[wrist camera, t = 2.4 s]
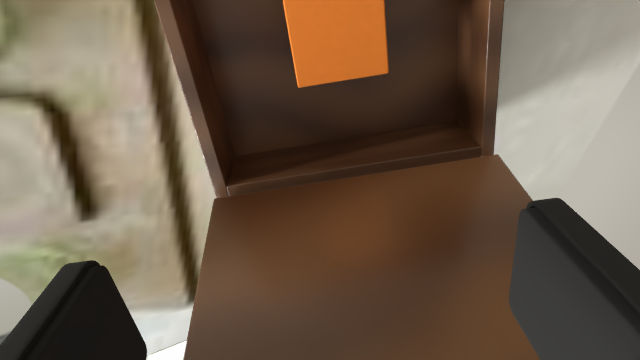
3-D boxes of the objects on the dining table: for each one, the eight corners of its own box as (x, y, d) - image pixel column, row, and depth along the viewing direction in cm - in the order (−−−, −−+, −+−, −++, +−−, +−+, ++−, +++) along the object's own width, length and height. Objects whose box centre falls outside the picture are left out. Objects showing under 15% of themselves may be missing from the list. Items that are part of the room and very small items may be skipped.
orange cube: (282, -17, 24) (280, -13, 19) (366, -31, 24) (382, -30, 19) (297, 67, 26) (298, 88, 22) (373, 55, 26) (389, 73, 22)
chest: (164, -64, 23) (131, -70, 18) (469, -115, 23) (514, -136, 18) (228, 162, 30) (216, 199, 25) (462, 125, 30) (494, 155, 25)
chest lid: (151, 517, 13) (201, 548, 16) (714, 438, 12) (651, 486, 15) (213, 198, 25) (235, 251, 28) (498, 153, 24) (487, 212, 27)
